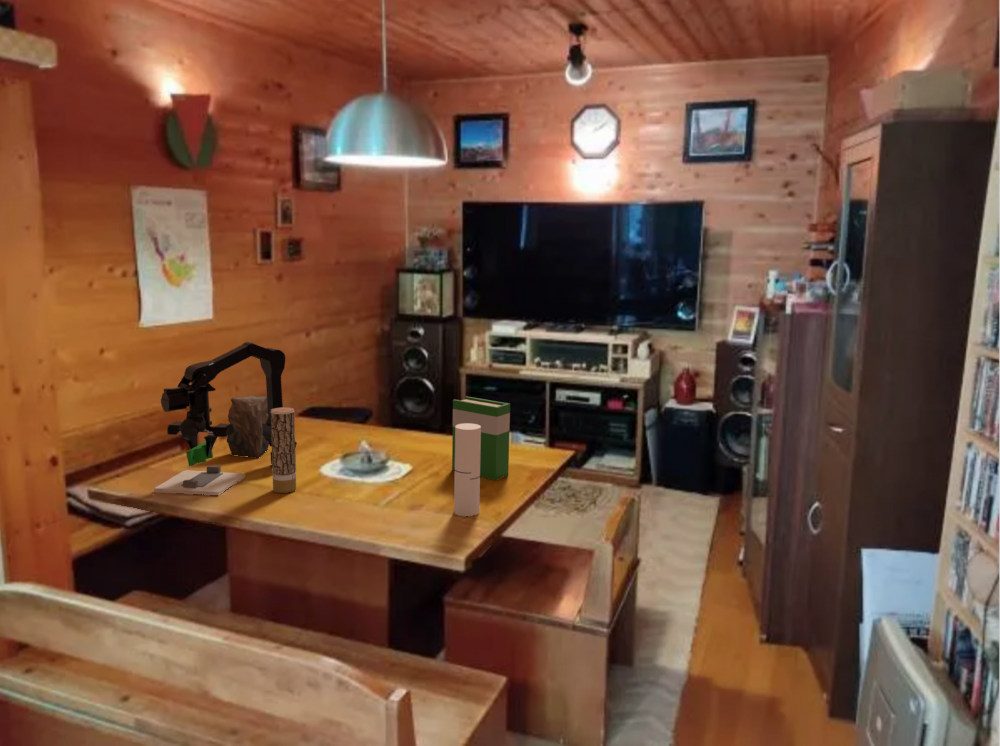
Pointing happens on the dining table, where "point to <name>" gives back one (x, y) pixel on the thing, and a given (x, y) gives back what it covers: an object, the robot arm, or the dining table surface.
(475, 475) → the cylindrical container
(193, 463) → the green angled block
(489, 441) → the hardback book
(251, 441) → the grey brown rock block
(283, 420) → the bark textured cylinder
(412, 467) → the dining table surface
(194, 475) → the door panel
